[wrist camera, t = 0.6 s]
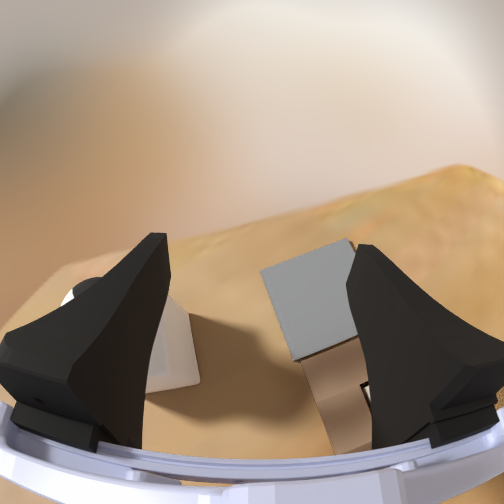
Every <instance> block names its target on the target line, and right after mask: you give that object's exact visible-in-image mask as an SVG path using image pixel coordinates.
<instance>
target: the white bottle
mask: <svg viewBox="0 0 504 504" xmlns="http://www.w3.org/2000/svg"><path fill="white" fill-rule="evenodd" d="M101 278H102V277H94V278H90V279H87V280H84V281H82V282H80V283H79V284H77V285H76V286H75V287H74V288H72V289H71V291H70V292H69V293H68V294H67V295H66V297H65V299H64V300H63V302H62V304H61V306H62V305H64V304H65V303H67V302H69V301H70V300H72V299H73V298H75V297H77V296H78V295H80V294H81V293H82V292H84V291H85V290H86V289H88V288H89V287H91V286H92V285H93V284H94V283H96V282H97V281H98V280H99V279H101ZM199 383H200V375H199V370H198V365H197V360H196V354H195V349H194V343H193V338H192V332H191V326H190V320H189V314H188V312H187V311H186V310H185V309H184V308H182V307H181V306H180V305H179V304H178V303H177V302H176V301H175V300H173V299H172V298H171V297H170V296H169V295H168V296H167V301H166V304H165V307H164V311H163V314H162V317H161V321H160V324H159V327H158V331H157V334H156V337H155V341H154V344H153V348H152V352H151V357H150V363H149V369H148V376H147V384H146V392H145V393H151V392H157V391H163V390H169V389H175V388H180V387H186V386H191V385H196V384H199Z"/></svg>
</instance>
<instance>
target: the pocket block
mask: <svg viewBox="0 0 504 504" xmlns="http://www.w3.org/2000/svg"><path fill="white" fill-rule="evenodd" d="M301 365H302V368H303V371H304V373H305V376H306V378H307V381H308V384H309V386H310V389H311V392H312V394H313V397H314V400H315V402H316V405H317V408H318V410H319V413H320V415H321V418H322V421H323V423H324V426H325V429H326V431H327V434H328V437H329V439H330V442H331V445H332V447H333V450H334V453H335V455H342V454H349V453H357V452H363V451H369V450H372V418H371V413H370V410H369V408H368V405H367V403H366V400H365V398H364V395H363V392H362V390H361V387H360V384H362V383H364V382H366V381H368V375H367V369H366V362H365V358H364V354H363V350H362V347H361V343H360V340H359V338H356V339H354V340H352V341H350V342H347V343H345V344H343V345H340V346H338V347H335V348H333V349H331V350H328V351H326V352H323V353H321V354H318V355H316V356H313V357H311V358H308V359H306V360H303V361H301Z"/></svg>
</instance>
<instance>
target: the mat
mask: <svg viewBox="0 0 504 504" xmlns="http://www.w3.org/2000/svg"><path fill="white" fill-rule="evenodd" d="M354 257H355V252H354V250H353V248H352V246H351V245H350V243H349V241H348V239H347V238H345V239H342V240H340V241H337V242H334V243H332V244H329V245H327V246H324V247H321V248H319V249H316V250H313V251H311V252H308V253H306V254H303V255H300V256H298V257H295V258H292V259H290V260H287V261H284V262H282V263H279V264H276V265H274V266H271V267H268V268H266V269H263V270H260V273H261V275H262V278H263V281H264V283H265V286H266V289H267V291H268V294H269V297H270V299H271V302H272V305H273V307H274V310H275V313H276V315H277V318H278V321H279V323H280V326H281V329H282V331H283V334H284V337H285V339H286V342H287V345H288V347H289V350H290V353H291V355H292V358H293V361H296V360H299V359H301V358H304V357H307V356H309V355H312V354H314V353H317V352H319V351H322V350H324V349H327V348H329V347H332V346H334V345H336V344H339V343H341V342H344V341H346V340H348V339H350V338H353V337H355V336H357V335H358V333H357V330H356V327H355V323H354V320H353V317H352V314H351V310H350V307H349V302H348V296H347V290H346V281H347V278H348V276H349V273H350V270H351V267H352V264H353V261H354Z"/></svg>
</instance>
